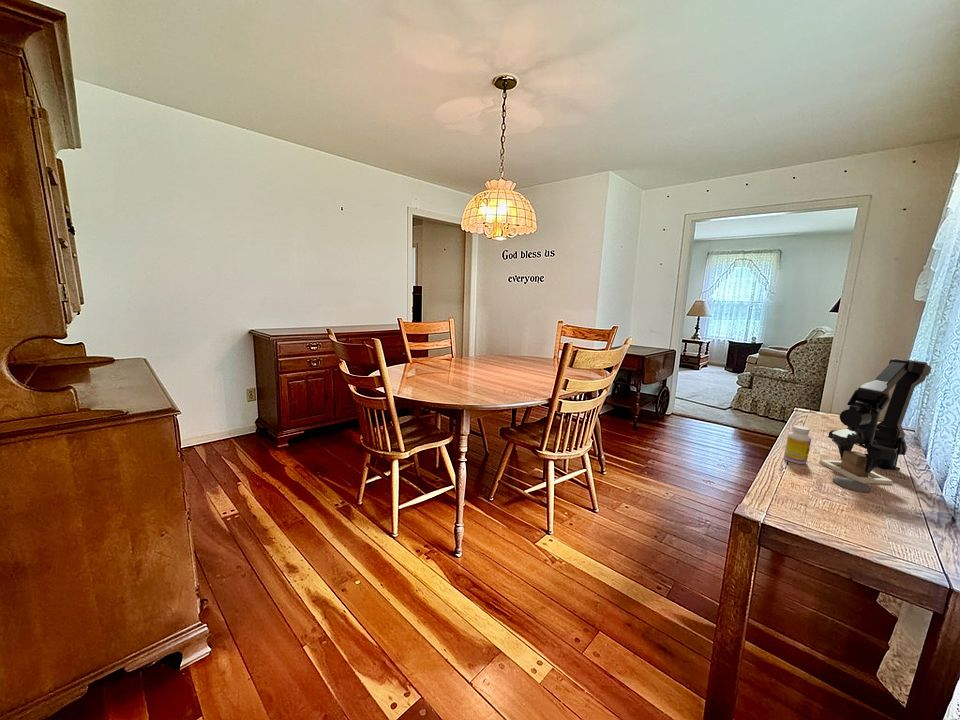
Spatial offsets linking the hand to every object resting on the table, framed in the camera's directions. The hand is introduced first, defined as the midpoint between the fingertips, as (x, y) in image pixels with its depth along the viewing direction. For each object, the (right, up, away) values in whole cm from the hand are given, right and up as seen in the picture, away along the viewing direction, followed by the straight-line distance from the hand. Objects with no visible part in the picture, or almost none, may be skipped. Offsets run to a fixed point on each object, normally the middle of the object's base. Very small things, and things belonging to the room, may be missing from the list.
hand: (854, 467), depth 133 cm
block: (0, -2, 0) cm, 2 cm away
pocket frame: (0, -2, 0) cm, 2 cm away
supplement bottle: (-14, 0, +8) cm, 16 cm away
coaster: (-10, -3, -9) cm, 14 cm away
